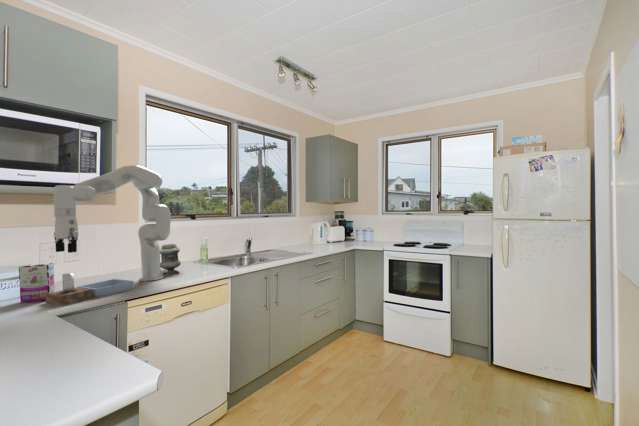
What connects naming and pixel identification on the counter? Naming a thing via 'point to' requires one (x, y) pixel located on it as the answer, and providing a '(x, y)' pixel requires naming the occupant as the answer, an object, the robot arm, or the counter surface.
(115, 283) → the tray
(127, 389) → the counter surface
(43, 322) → the counter surface
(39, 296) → the candy bar box
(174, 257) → the stone urn
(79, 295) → the socket block
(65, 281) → the pin
